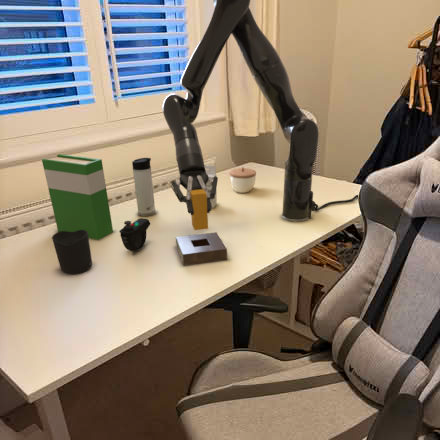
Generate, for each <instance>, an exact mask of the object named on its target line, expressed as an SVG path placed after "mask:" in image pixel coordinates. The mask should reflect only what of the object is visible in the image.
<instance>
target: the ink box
mask: <svg viewBox="0 0 440 440" xmlns="http://www.w3.org/2000/svg"><path fill="white" fill-rule="evenodd" d="M204 166H205V170H206V173H207V175H208V176H209V177H212V178H214V177H215V176H216V177H217V171H216V170H217V167H216V165H211V164H204ZM205 186H206V187H207V191H208V193H211V190H212V186H211V185H210V182H209V181H208V182H207V184H206V185H205ZM217 193H218V192H217V191H216V194H215V198H214V199H210V201H211V206H212V208H211V209H214V208H215V206H217V204H218V202H217V201H218V200H217V198H218V197H217V196H218V195H217Z"/></svg>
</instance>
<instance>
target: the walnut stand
mask: <svg viewBox="0 0 440 440" xmlns="http://www.w3.org/2000/svg"><path fill="white" fill-rule="evenodd" d="M175 245H176V250H177V252H178V255H179V258H180V260H181V263H182V265H183V266H190V265H197V264H205V263H206V264H207V263H214V262H221V261H227V260H228V249H227V247H226V245H225V244H224V242H223V240H222V239H221V237H220V235H219V234H218V232H217V231H216V232H215V231H214V232H206V233H198V234H190V235H181V236H176V237H175Z"/></svg>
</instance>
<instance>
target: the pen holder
mask: <svg viewBox="0 0 440 440" xmlns="http://www.w3.org/2000/svg"><path fill="white" fill-rule="evenodd" d="M51 240H52V243H53V247H54V250H55V254H56V257H57V262H58V264H59V267H60V268H59V269H60V270H61V271H62V273H65V274H67V275H79V274H83V273H86V272H87V271H89V270H90V269H91V268H92V267H93V259H92V251H91V246H90V238H88V232H87V231H85V230H78V231H75V232H68V231H60V232H59V231H57V232H55V233H54V234H53V235H52V237H51Z"/></svg>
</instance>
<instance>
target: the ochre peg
mask: <svg viewBox="0 0 440 440" xmlns="http://www.w3.org/2000/svg"><path fill="white" fill-rule="evenodd" d="M190 194H191V200H192V205H193V209H194V214H193V215H191V214H190V217H191V226H192V228H193V230H194V231H201V230H208V229H209V217H208V215H209V213H207V193H206V192H205V190H203V189H199V190H191V191H190Z"/></svg>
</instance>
